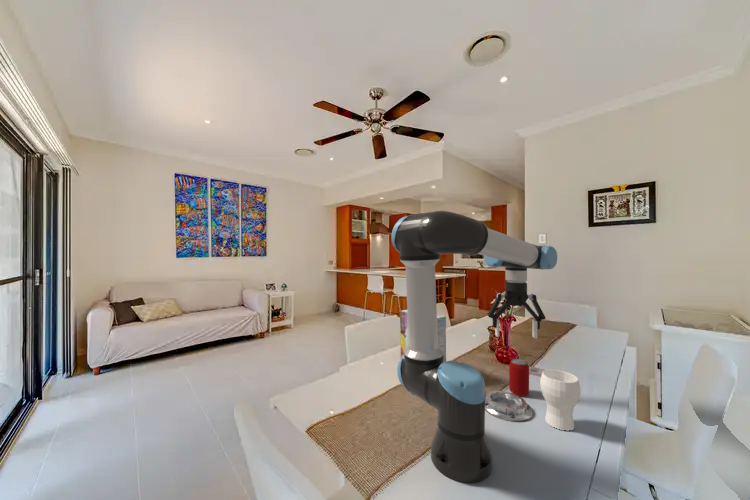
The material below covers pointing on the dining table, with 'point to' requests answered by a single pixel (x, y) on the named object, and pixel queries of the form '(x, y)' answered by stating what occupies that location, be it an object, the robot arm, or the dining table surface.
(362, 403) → the dining table surface
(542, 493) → the dining table surface
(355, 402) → the dining table surface
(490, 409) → the flange
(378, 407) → the dining table surface
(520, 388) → the beverage can
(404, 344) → the snack box
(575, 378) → the cup
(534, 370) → the remote control
